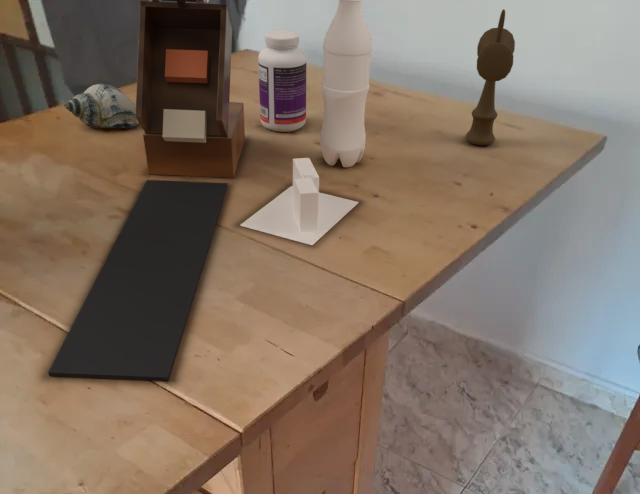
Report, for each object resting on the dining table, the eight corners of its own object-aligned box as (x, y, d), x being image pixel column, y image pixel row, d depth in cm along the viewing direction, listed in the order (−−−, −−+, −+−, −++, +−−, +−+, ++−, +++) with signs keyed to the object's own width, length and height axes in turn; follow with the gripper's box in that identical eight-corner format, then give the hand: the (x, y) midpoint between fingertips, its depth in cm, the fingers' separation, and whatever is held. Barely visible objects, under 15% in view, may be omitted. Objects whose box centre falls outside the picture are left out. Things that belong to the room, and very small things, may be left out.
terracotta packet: (208, 83, 99) (206, 78, 98) (166, 81, 99) (164, 76, 98) (209, 56, 99) (207, 50, 98) (168, 54, 99) (165, 48, 98)
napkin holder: (290, 185, 103) (290, 147, 99) (359, 201, 100) (362, 162, 96) (238, 225, 93) (236, 185, 89) (313, 245, 90) (314, 204, 86)
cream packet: (206, 142, 99) (204, 138, 98) (164, 141, 99) (162, 136, 98) (207, 115, 99) (205, 110, 98) (165, 113, 99) (163, 108, 98)
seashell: (143, 138, 119) (71, 139, 117) (141, 105, 122) (71, 106, 120) (138, 108, 113) (62, 109, 111) (137, 75, 116) (63, 75, 114)
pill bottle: (313, 122, 123) (315, 32, 113) (293, 137, 117) (293, 43, 107) (273, 114, 125) (271, 25, 115) (251, 128, 120) (248, 36, 110)
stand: (233, 177, 104) (231, 138, 100) (148, 174, 104) (142, 134, 100) (245, 139, 116) (243, 102, 112) (168, 136, 116) (164, 99, 112)
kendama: (497, 134, 121) (523, 4, 108) (496, 154, 114) (524, 18, 101) (463, 130, 122) (485, 1, 108) (460, 150, 115) (483, 14, 102)
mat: (168, 381, 69) (168, 377, 68) (49, 376, 69) (47, 372, 68) (227, 186, 102) (227, 183, 102) (147, 183, 102) (146, 179, 102)
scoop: (227, 137, 100) (218, 110, 91) (146, 134, 100) (128, 106, 91) (232, 25, 100) (223, -14, 91) (150, 21, 100) (133, -18, 91)
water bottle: (317, 152, 113) (323, -28, 96) (361, 152, 113) (373, -26, 96) (321, 170, 107) (326, -17, 90) (366, 170, 108) (380, -16, 91)
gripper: (71, -131, 80) (95, 5, 90) (246, -126, 80) (252, 9, 89) (85, -136, 85) (107, -7, 94) (251, -132, 84) (256, -2, 94)
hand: (179, 1), depth 92 cm, fingers closed on scoop, 5 cm apart
